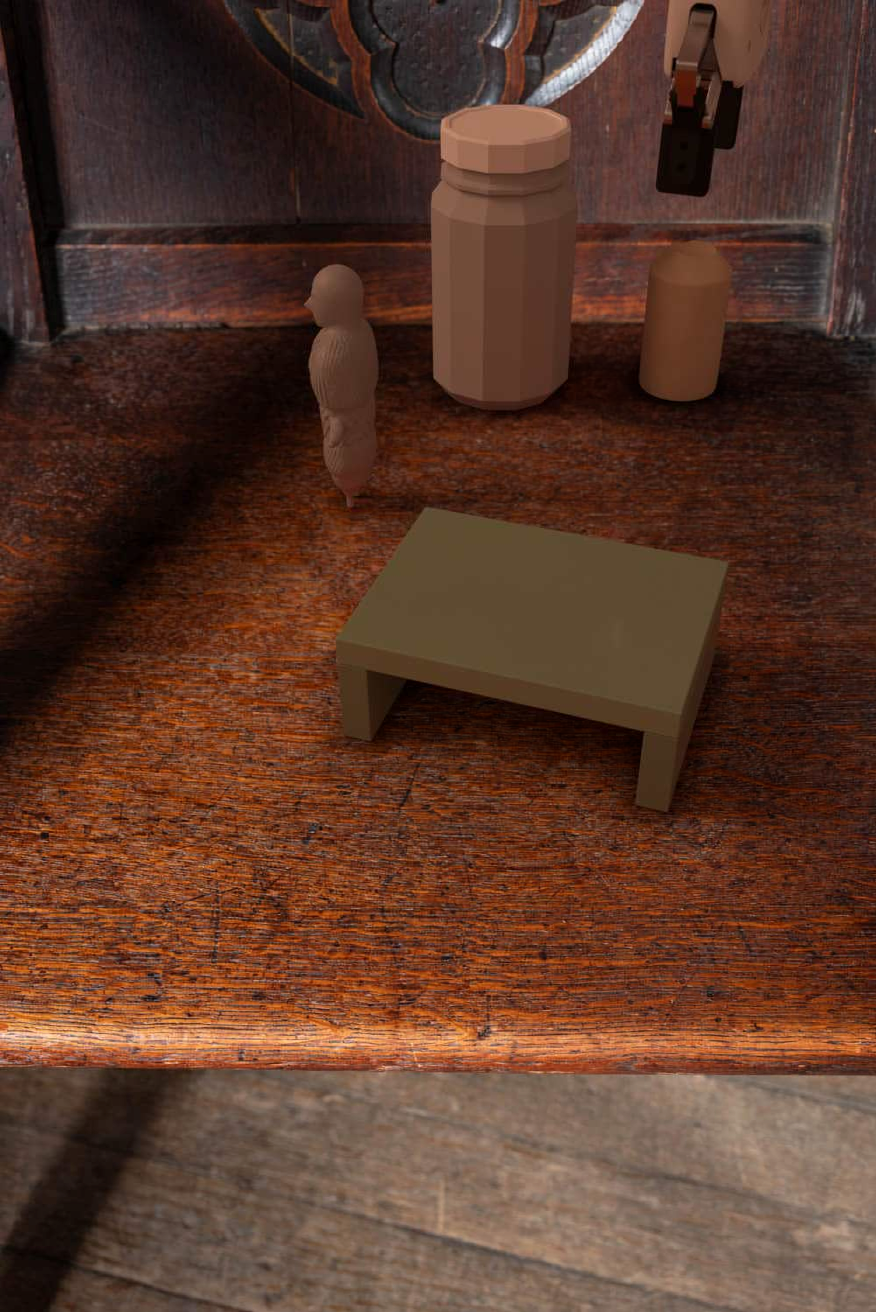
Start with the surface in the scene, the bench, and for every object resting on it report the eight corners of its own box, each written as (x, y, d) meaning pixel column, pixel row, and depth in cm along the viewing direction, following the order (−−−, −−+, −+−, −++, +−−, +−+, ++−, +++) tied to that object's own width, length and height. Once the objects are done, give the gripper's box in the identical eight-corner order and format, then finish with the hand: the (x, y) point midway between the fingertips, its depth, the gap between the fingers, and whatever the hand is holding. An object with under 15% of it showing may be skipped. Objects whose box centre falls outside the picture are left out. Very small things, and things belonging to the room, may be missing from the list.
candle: (688, 410, 87) (705, 269, 80) (622, 386, 90) (635, 248, 83) (731, 382, 90) (751, 245, 84) (667, 360, 93) (681, 225, 87)
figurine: (340, 460, 82) (323, 233, 73) (399, 466, 81) (390, 237, 72) (298, 539, 75) (274, 298, 65) (362, 546, 74) (347, 303, 65)
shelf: (714, 656, 66) (729, 561, 62) (667, 813, 57) (681, 713, 53) (427, 597, 70) (425, 505, 66) (342, 735, 61) (334, 638, 57)
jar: (586, 407, 87) (605, 138, 76) (449, 424, 86) (448, 152, 74) (545, 348, 95) (556, 95, 83) (418, 362, 93) (412, 106, 82)
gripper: (784, -122, 62) (732, 222, 73) (824, -161, 75) (775, 136, 86) (635, -130, 64) (606, 206, 75) (698, -167, 77) (666, 125, 88)
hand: (696, 169), depth 80 cm, fingers open, 9 cm apart
